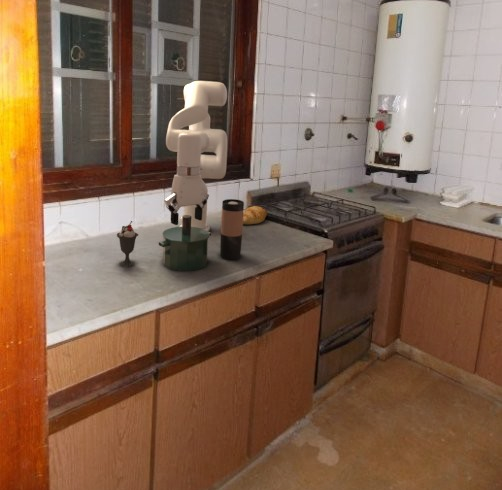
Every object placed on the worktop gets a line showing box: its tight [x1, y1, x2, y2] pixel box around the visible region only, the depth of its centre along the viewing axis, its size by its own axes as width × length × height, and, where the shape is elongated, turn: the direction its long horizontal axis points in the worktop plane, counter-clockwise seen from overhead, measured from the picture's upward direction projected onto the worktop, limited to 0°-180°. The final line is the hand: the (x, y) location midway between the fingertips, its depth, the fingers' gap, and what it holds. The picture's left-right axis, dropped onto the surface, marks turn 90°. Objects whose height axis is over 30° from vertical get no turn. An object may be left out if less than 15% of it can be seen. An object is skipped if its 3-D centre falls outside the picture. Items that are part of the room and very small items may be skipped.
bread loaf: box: [243, 205, 268, 225], centre depth 200 cm, size 21×10×8 cm, turn 150°
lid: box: [162, 214, 211, 243], centre depth 146 cm, size 16×16×7 cm
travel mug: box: [219, 198, 245, 261], centre depth 154 cm, size 8×8×20 cm
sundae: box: [116, 220, 139, 268], centre depth 142 cm, size 7×7×15 cm
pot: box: [158, 231, 212, 272], centre depth 147 cm, size 15×20×10 cm
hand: (186, 221), depth 145 cm, fingers open, 9 cm apart
